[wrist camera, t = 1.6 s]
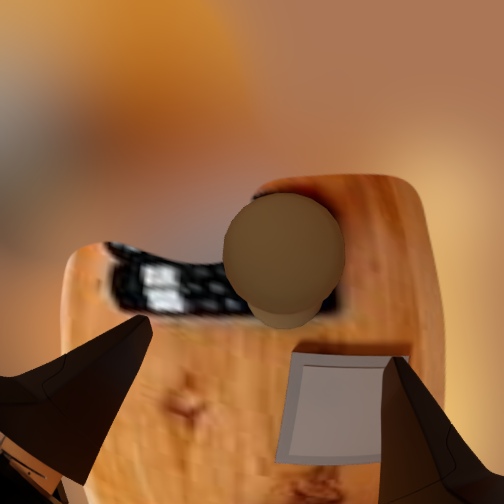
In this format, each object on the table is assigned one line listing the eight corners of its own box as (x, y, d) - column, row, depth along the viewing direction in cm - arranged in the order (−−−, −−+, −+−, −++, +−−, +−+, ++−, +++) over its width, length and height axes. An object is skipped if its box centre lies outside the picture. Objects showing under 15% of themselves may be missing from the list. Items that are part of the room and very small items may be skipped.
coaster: (383, 457, 15) (388, 461, 14) (275, 457, 16) (274, 463, 15) (403, 355, 17) (409, 356, 16) (291, 351, 19) (292, 352, 18)
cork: (330, 258, 21) (368, 184, 10) (316, 336, 19) (351, 337, 8) (255, 245, 22) (226, 162, 11) (237, 320, 20) (184, 302, 10)
